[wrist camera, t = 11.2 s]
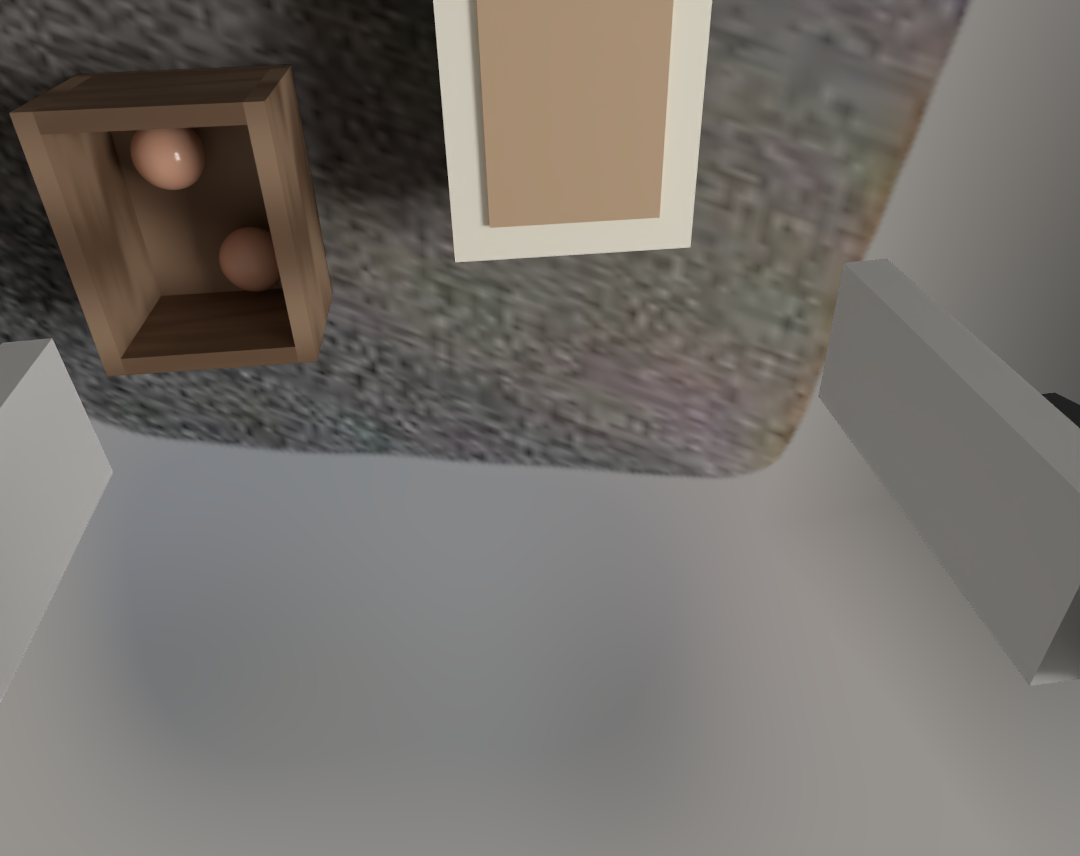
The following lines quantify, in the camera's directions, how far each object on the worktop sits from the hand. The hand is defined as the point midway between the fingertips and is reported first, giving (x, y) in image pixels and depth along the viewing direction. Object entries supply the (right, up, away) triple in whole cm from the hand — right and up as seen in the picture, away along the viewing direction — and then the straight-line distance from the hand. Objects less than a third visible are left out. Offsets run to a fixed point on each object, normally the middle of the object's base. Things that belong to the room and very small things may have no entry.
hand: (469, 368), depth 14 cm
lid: (+2, +13, +19) cm, 23 cm away
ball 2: (-12, +8, +25) cm, 29 cm away
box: (-14, +10, +24) cm, 30 cm away
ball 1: (-15, +12, +22) cm, 29 cm away
